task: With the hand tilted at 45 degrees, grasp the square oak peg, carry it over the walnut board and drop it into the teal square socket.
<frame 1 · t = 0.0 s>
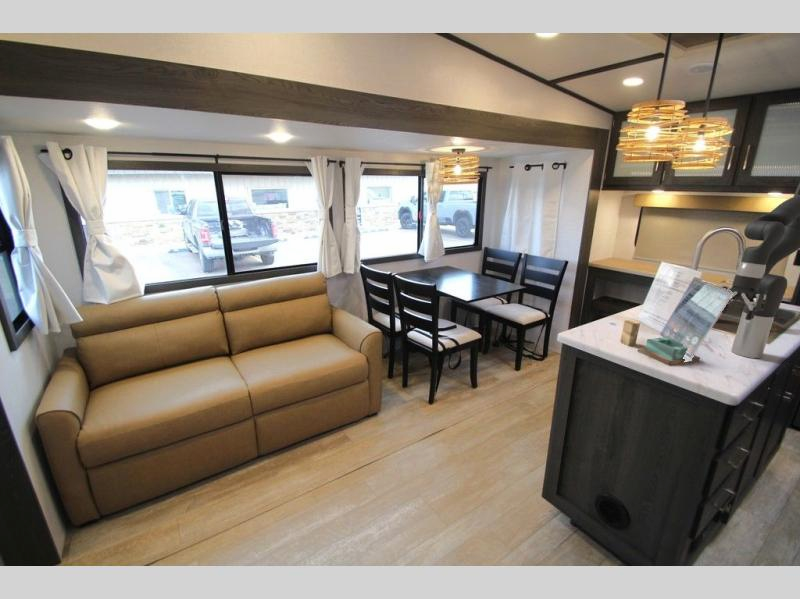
hand: (735, 316, 142), 17 cm above the countertop, tool pointing down, fingers open, 8 cm apart
socket block: (667, 356, 146), on the countertop
peg: (627, 343, 157), on the countertop
coffee box: (757, 327, 183), on the countertop
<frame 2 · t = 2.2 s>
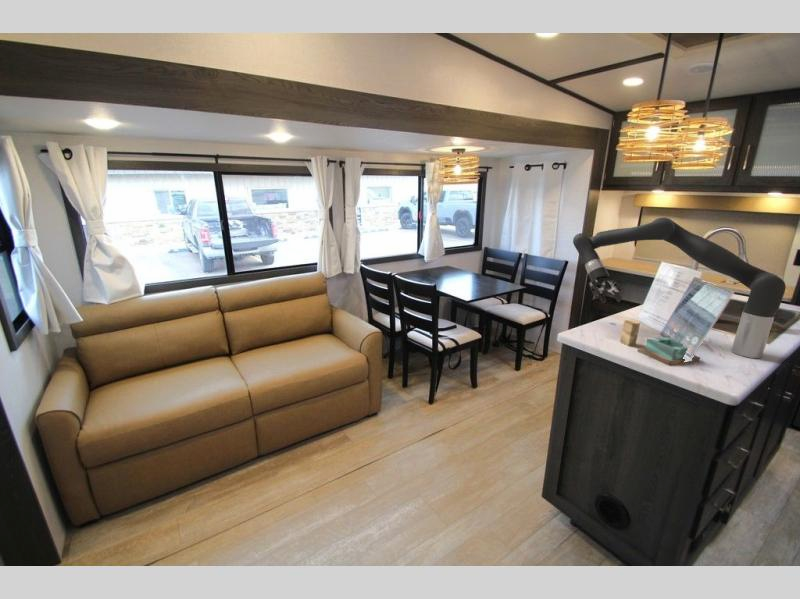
hand: (612, 301, 164), 16 cm above the countertop, tool tilted 45°, fingers open, 8 cm apart
nothing on the countertop moved.
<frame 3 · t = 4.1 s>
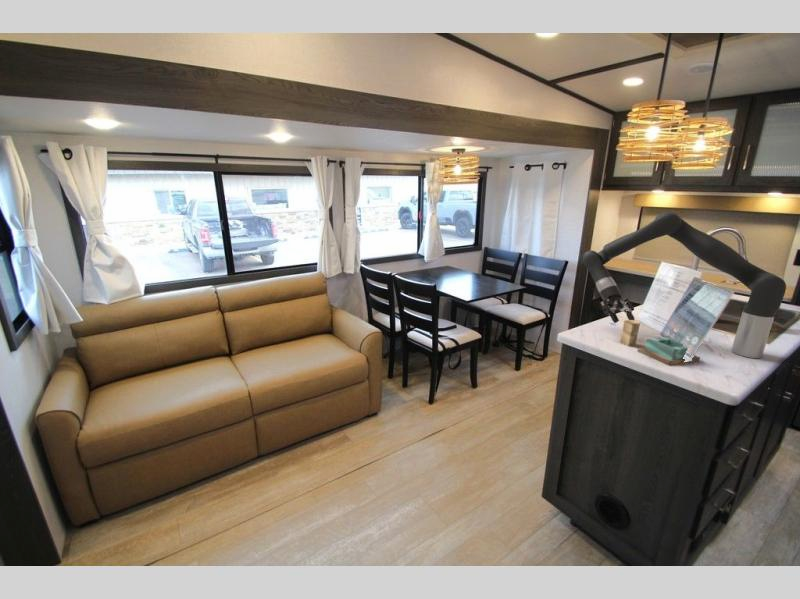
hand: (624, 321, 158), 9 cm above the countertop, tool tilted 45°, fingers open, 8 cm apart
nothing on the countertop moved.
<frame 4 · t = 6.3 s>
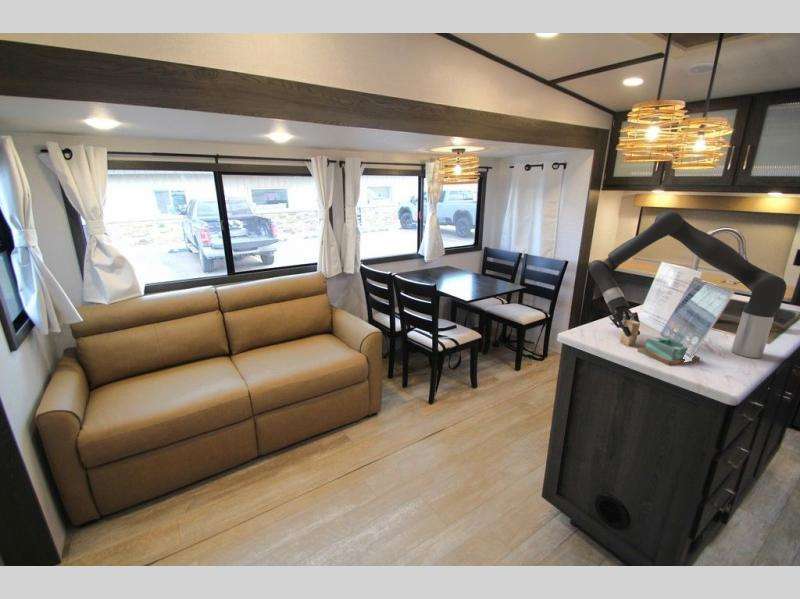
hand: (633, 335, 154), 5 cm above the countertop, tool tilted 45°, fingers closed on peg, 4 cm apart
peg: (627, 343, 157), on the countertop, touching gripper
everything else where it was.
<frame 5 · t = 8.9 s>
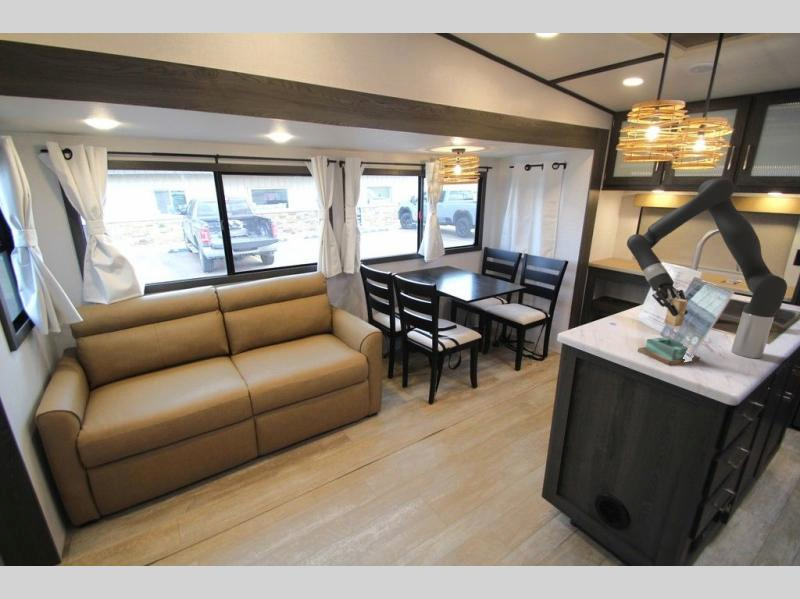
hand: (680, 314, 140), 18 cm above the countertop, tool tilted 45°, fingers closed on peg, 4 cm apart
peg: (673, 324, 143), point 13 cm above the countertop, touching gripper
everything else where it was.
when the fingers open (8 cm above the countertop, at t = 11.8 s): peg drops 2 cm, resting on socket block.
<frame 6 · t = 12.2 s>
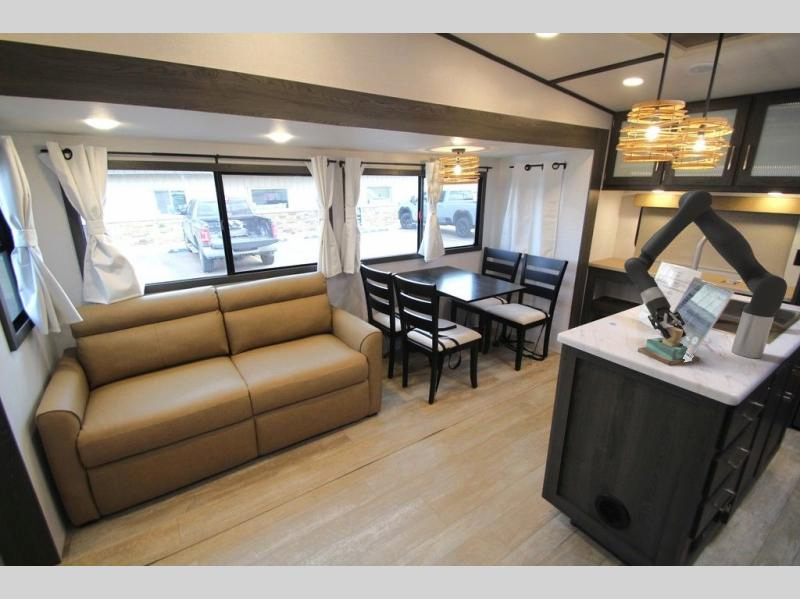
hand: (676, 337, 142), 9 cm above the countertop, tool tilted 45°, fingers open, 7 cm apart
peg: (668, 352, 145), point 1 cm above the countertop, touching socket block
everything else where it was.
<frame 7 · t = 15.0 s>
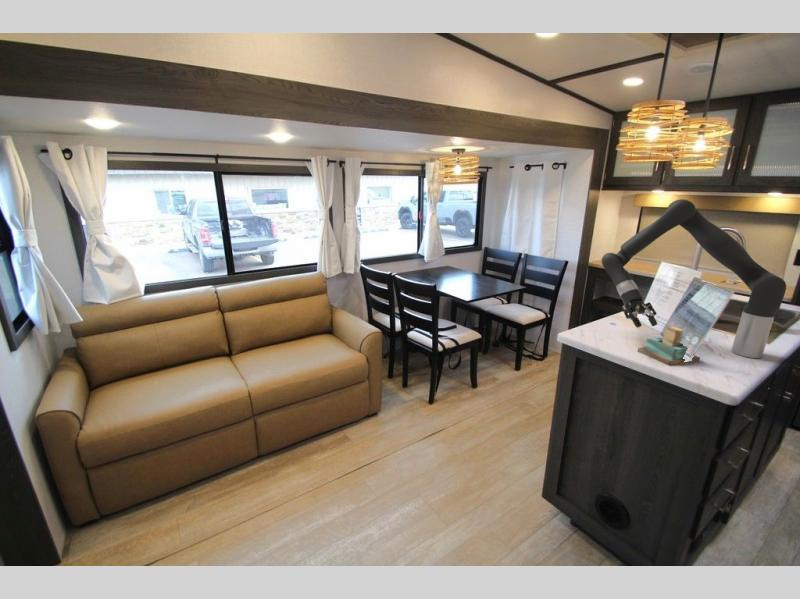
hand: (647, 326, 153), 9 cm above the countertop, tool tilted 45°, fingers open, 8 cm apart
nothing on the countertop moved.
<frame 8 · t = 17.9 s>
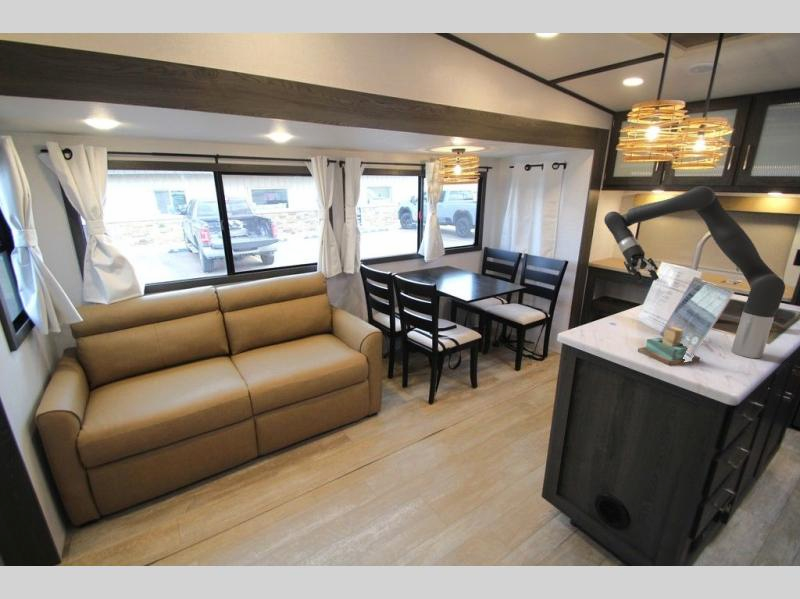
hand: (648, 279, 157), 27 cm above the countertop, tool tilted 45°, fingers open, 8 cm apart
nothing on the countertop moved.
at the end: peg 0.1 cm off-centre on the socket block, point 1.5 cm above the socket block's base; peg tilted 0°; the gripper is holding nothing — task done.
